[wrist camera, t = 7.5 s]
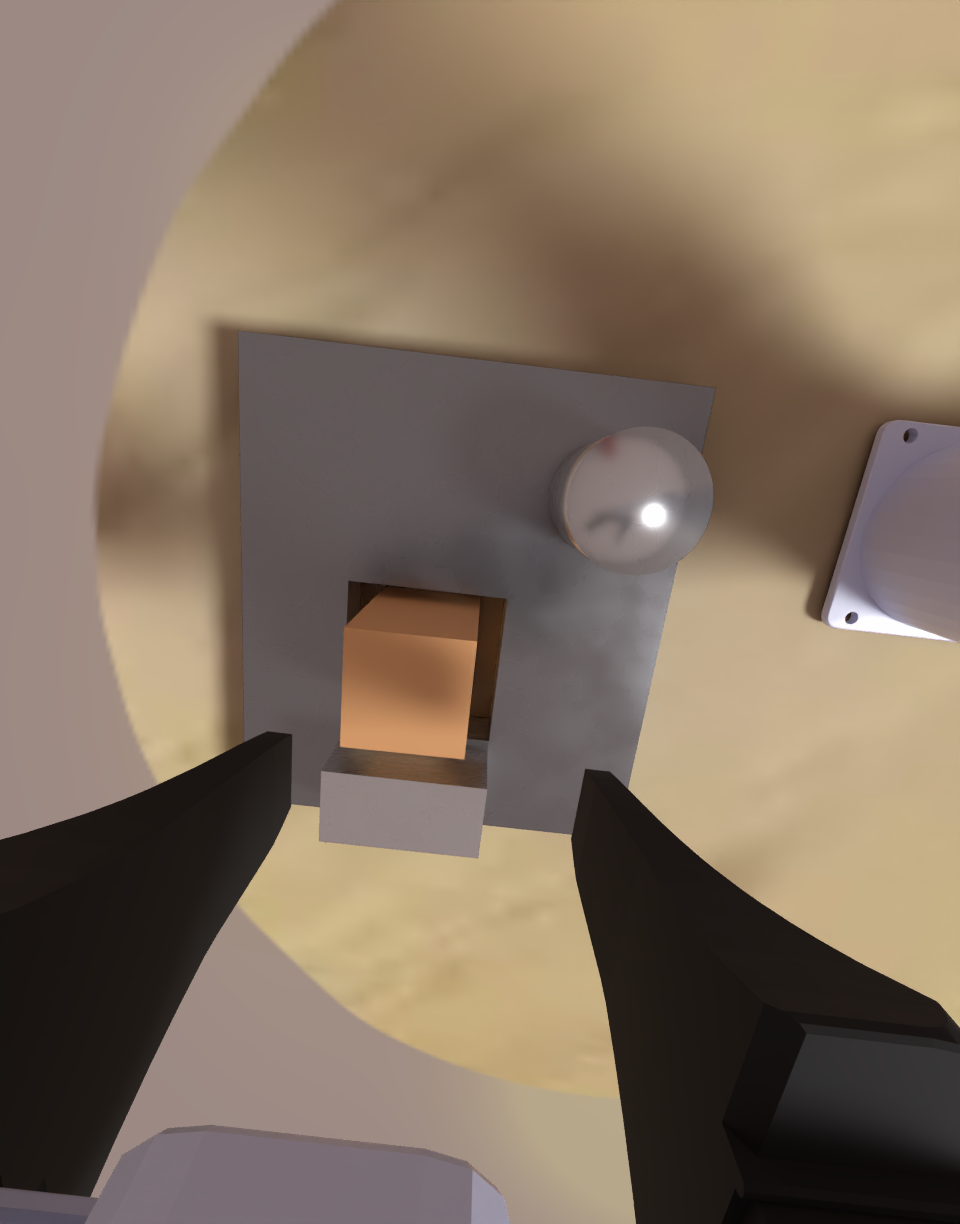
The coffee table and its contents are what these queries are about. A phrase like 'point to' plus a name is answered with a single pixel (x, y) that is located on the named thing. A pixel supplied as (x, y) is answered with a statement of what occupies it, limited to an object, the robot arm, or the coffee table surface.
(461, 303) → the coffee table surface
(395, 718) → the tan rectangular block
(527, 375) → the slotted grey plate
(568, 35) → the coffee table surface
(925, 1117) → the robot arm
